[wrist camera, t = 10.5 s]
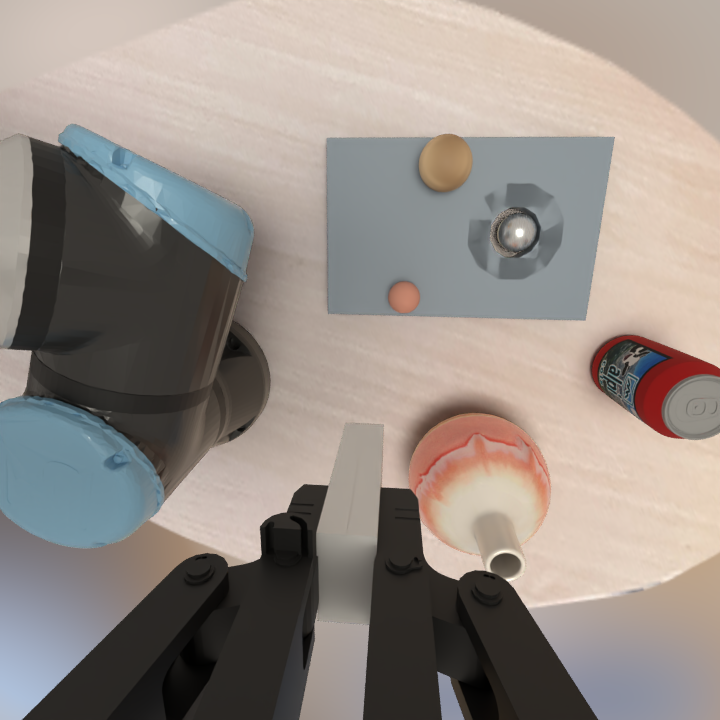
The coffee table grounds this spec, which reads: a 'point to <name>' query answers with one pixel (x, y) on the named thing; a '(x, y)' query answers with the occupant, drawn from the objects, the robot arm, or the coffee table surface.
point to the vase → (481, 488)
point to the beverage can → (661, 386)
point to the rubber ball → (404, 297)
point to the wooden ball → (445, 163)
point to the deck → (465, 227)
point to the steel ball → (517, 232)
